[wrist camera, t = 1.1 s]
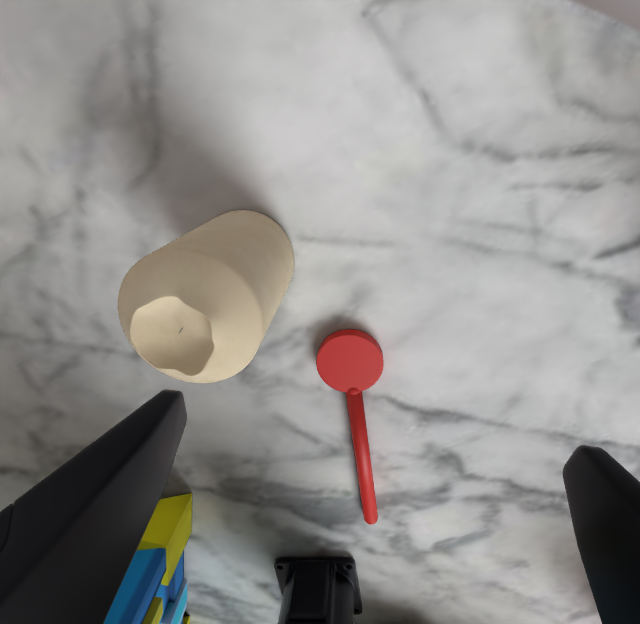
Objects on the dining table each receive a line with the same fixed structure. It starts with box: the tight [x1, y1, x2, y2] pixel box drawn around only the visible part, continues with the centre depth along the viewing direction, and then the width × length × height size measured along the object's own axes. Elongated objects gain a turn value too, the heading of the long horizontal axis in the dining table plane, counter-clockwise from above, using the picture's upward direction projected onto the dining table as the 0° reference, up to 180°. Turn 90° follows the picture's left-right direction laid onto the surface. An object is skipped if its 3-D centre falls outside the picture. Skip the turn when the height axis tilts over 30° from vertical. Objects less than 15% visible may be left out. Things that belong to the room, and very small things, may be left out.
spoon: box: [316, 329, 383, 524], centre depth 27 cm, size 16×4×1 cm, turn 8°
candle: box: [118, 210, 294, 383], centre depth 18 cm, size 6×6×10 cm
